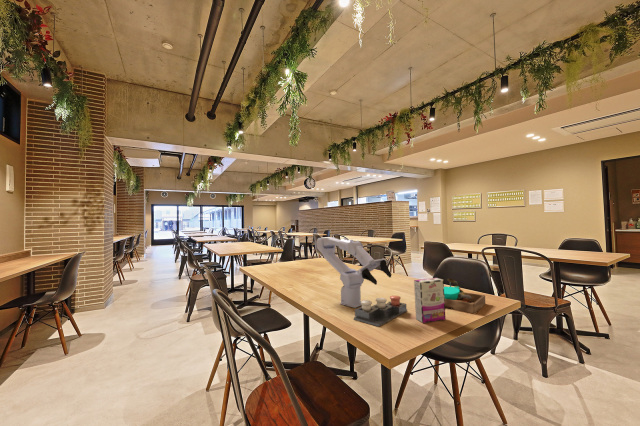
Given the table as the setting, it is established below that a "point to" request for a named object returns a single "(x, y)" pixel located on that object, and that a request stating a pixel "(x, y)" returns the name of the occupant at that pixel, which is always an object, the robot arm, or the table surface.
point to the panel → (379, 314)
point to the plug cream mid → (381, 303)
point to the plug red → (395, 300)
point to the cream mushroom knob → (366, 305)
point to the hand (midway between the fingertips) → (383, 279)
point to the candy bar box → (429, 300)
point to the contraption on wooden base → (455, 293)
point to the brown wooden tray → (466, 306)
